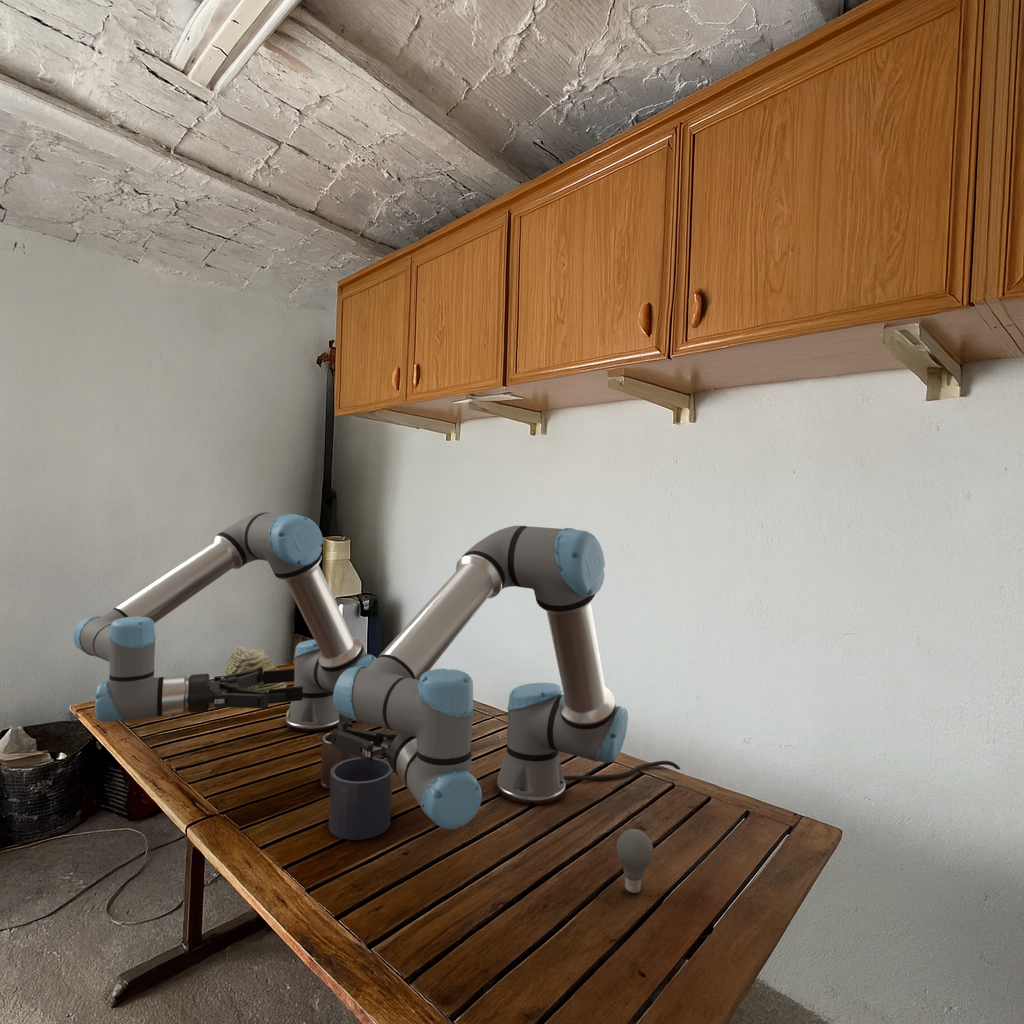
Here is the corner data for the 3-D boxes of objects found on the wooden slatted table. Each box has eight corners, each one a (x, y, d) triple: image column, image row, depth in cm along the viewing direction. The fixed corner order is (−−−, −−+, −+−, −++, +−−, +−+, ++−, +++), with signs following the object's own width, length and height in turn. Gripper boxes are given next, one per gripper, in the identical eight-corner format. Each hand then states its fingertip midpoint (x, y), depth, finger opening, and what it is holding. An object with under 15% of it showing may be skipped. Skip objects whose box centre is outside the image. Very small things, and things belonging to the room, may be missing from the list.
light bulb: (610, 879, 108) (613, 822, 108) (644, 879, 109) (647, 822, 109) (619, 902, 102) (622, 840, 102) (655, 901, 103) (658, 840, 103)
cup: (344, 770, 147) (345, 727, 147) (366, 781, 142) (368, 737, 142) (313, 781, 141) (314, 736, 140) (335, 793, 135) (337, 747, 135)
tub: (365, 803, 132) (367, 752, 132) (402, 823, 124) (405, 769, 124) (316, 824, 123) (318, 769, 122) (354, 847, 115) (356, 789, 115)
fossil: (218, 695, 195) (220, 647, 195) (278, 685, 208) (279, 640, 207) (228, 703, 189) (230, 653, 188) (289, 692, 201) (290, 645, 201)
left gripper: (189, 693, 139) (290, 684, 148) (185, 734, 116) (305, 720, 125) (189, 659, 138) (291, 652, 148) (186, 694, 116) (306, 683, 125)
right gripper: (334, 799, 90) (307, 745, 109) (491, 771, 102) (442, 726, 120) (336, 747, 90) (308, 702, 109) (493, 724, 102) (444, 687, 120)
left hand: (298, 683), depth 137 cm, fingers open, 13 cm apart
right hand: (379, 715), depth 115 cm, fingers open, 13 cm apart
